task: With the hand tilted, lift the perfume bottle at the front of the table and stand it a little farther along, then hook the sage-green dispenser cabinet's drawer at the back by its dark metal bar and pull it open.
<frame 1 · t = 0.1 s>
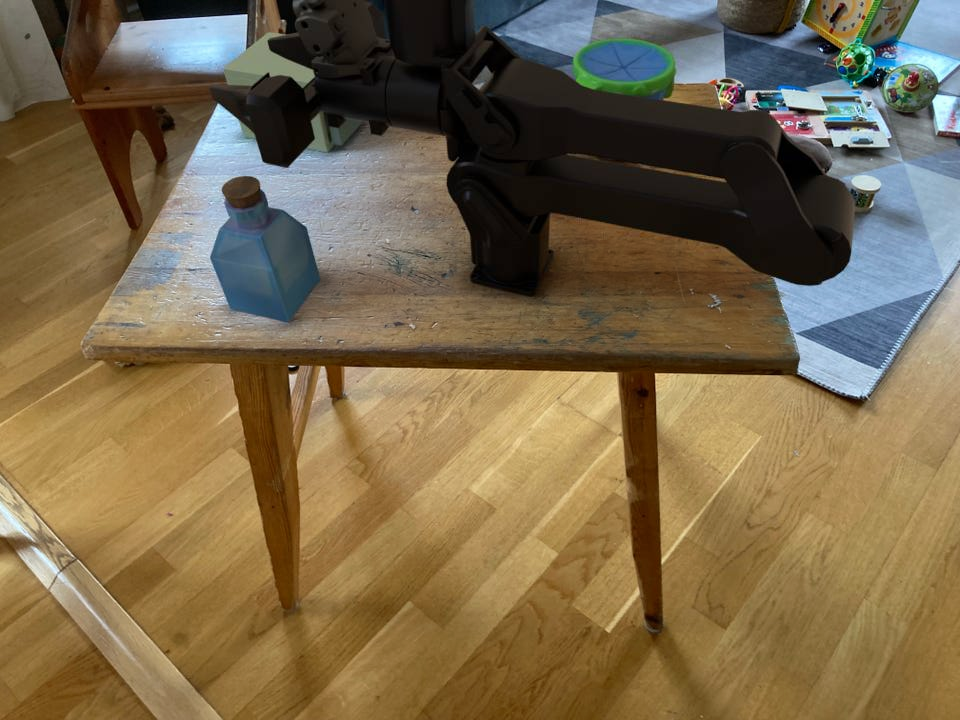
hand: (241, 67, 66), 17 cm above the table, tool horizontal, fingers open, 9 cm apart
drawer: (330, 96, 86), point 4 cm above the table, slide at 0.5 cm
snack cup: (614, 147, 85), on the table
cabinet: (305, 124, 91), on the table
perfume bottle: (276, 295, 70), on the table
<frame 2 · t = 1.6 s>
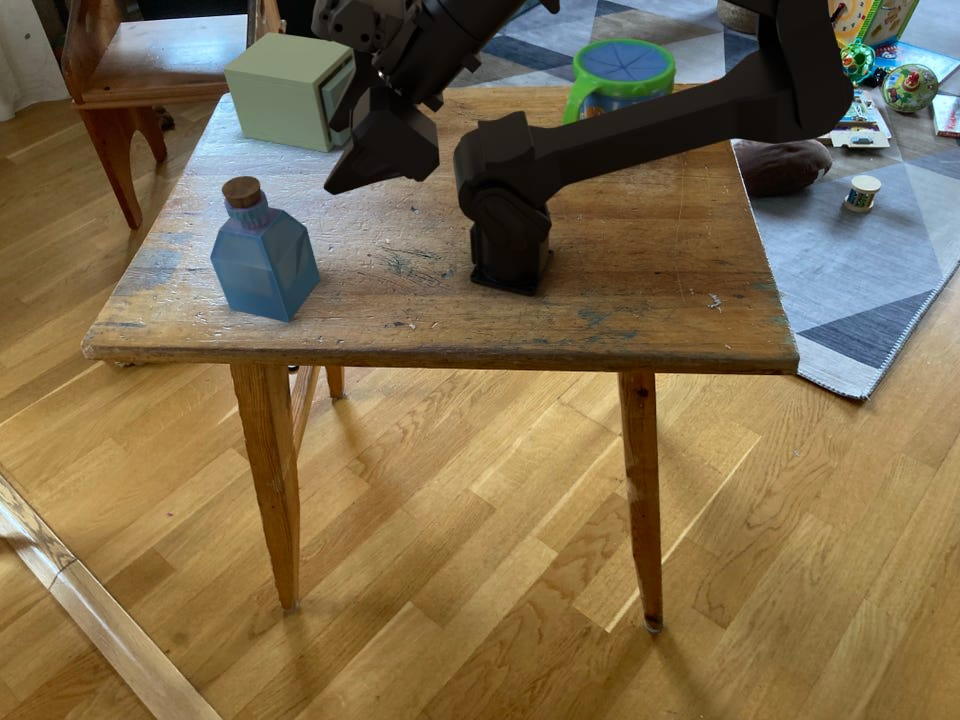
hand: (330, 158, 60), 14 cm above the table, tool tilted 45°, fingers open, 9 cm apart
nothing on the table moved.
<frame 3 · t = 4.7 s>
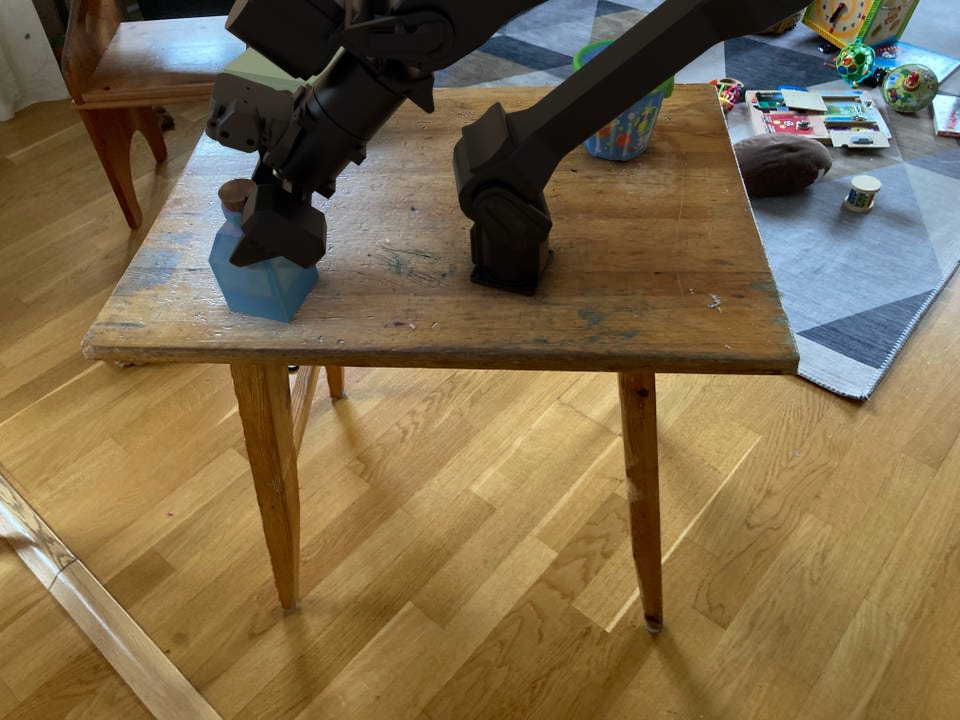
hand: (238, 236, 65), 7 cm above the table, tool tilted 45°, fingers closed on perfume bottle, 7 cm apart
perfume bottle: (276, 295, 70), on the table, touching gripper
everything else where it was.
when the fingers open (8 cm above the table, at t = 8.4 s): perfume bottle stays where it is, on the table.
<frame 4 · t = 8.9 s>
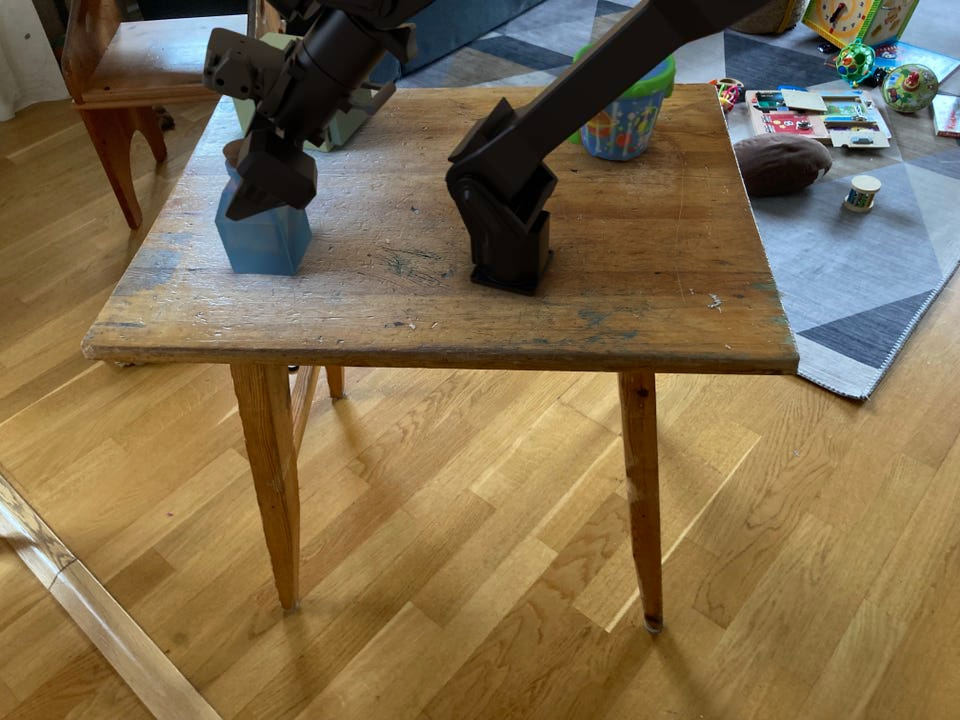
hand: (235, 188, 69), 8 cm above the table, tool tilted 45°, fingers open, 9 cm apart
perfume bottle: (274, 255, 74), on the table
everything else where it was.
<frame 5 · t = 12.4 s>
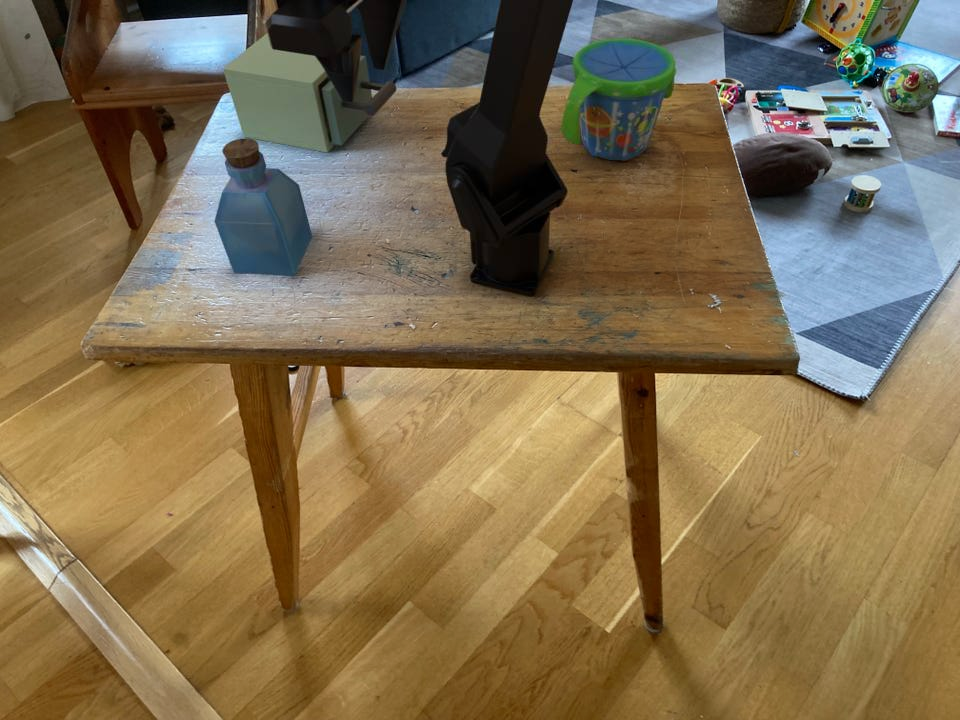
hand: (364, 84, 72), 12 cm above the table, tool pointing down, fingers open, 6 cm apart
nothing on the table moved.
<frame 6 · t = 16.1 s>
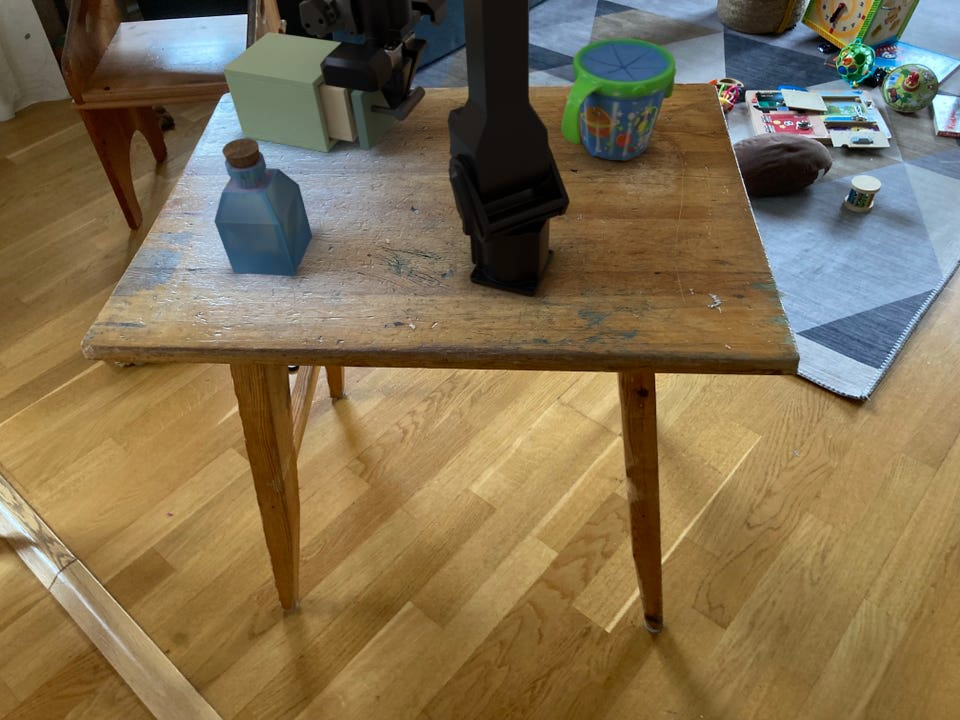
hand: (397, 110, 84), 4 cm above the table, tool pointing down, fingers closed, pressing on drawer
drawer: (358, 101, 85), point 4 cm above the table, slide at 4.2 cm, touching gripper
everything else where it was.
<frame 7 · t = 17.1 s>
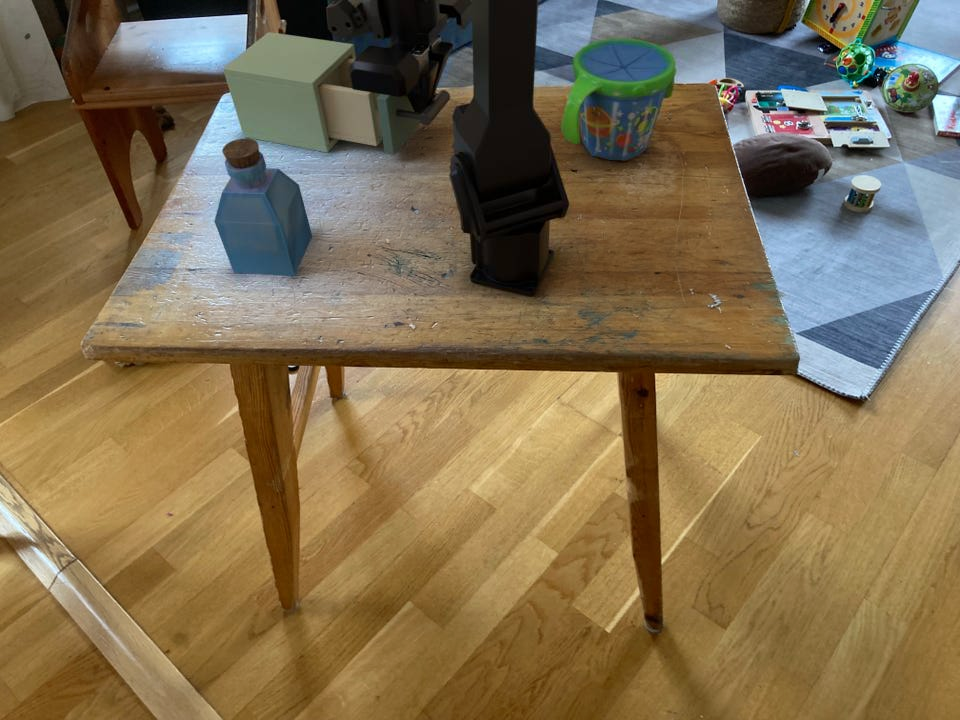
hand: (422, 114, 83), 4 cm above the table, tool pointing down, fingers closed, pressing on drawer
drawer: (381, 105, 85), point 4 cm above the table, slide at 7.2 cm, touching gripper
everything else where it was.
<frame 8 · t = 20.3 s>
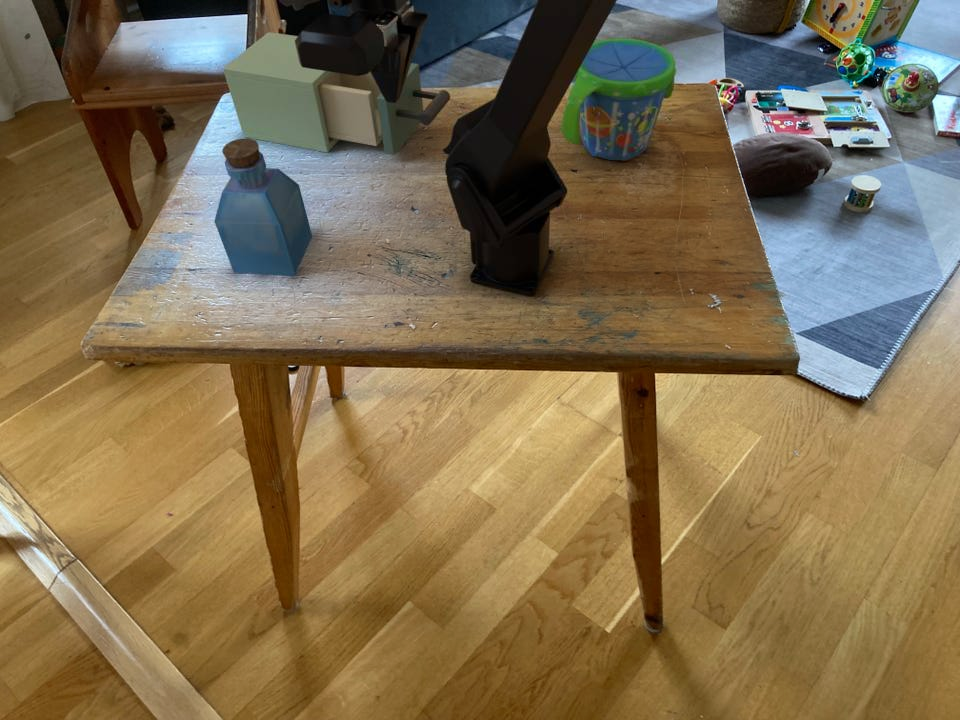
hand: (392, 100, 70), 12 cm above the table, tool pointing down, fingers closed
drawer: (382, 105, 85), point 4 cm above the table, slide at 7.2 cm
everything else where it was.
at the end: drawer slide at 7.2 cm; perfume bottle 0.7 cm from the target spot, on the table; perfume bottle tilted 0° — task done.
